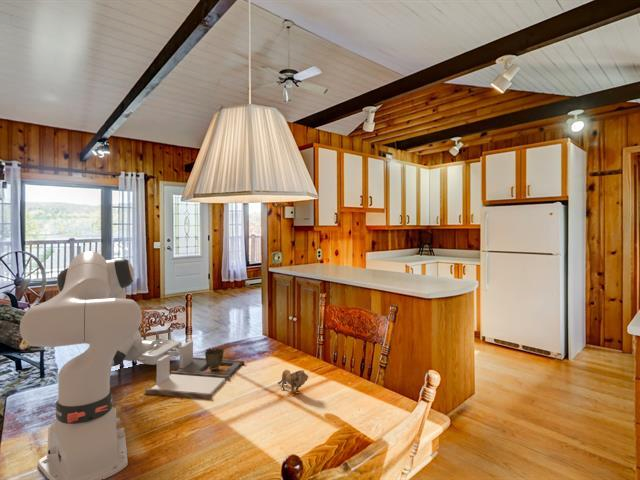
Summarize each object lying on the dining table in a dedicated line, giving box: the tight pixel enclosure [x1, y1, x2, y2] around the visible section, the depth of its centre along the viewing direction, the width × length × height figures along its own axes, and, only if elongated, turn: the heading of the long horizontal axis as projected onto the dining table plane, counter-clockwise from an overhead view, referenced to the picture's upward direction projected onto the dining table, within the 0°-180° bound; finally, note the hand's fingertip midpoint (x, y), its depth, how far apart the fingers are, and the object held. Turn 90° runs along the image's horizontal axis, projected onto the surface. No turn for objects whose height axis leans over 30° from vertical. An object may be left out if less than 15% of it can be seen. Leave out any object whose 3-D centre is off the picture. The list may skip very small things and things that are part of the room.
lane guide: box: [144, 356, 245, 400], centre depth 139 cm, size 24×33×2 cm
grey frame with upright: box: [175, 340, 242, 376], centre depth 147 cm, size 22×13×10 cm, turn 82°
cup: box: [204, 347, 225, 372], centre depth 147 cm, size 8×7×8 cm
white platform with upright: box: [150, 355, 226, 395], centre depth 130 cm, size 22×13×10 cm, turn 82°
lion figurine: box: [277, 369, 309, 394], centre depth 129 cm, size 15×5×9 cm, turn 47°
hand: (180, 353), depth 149 cm, fingers closed
